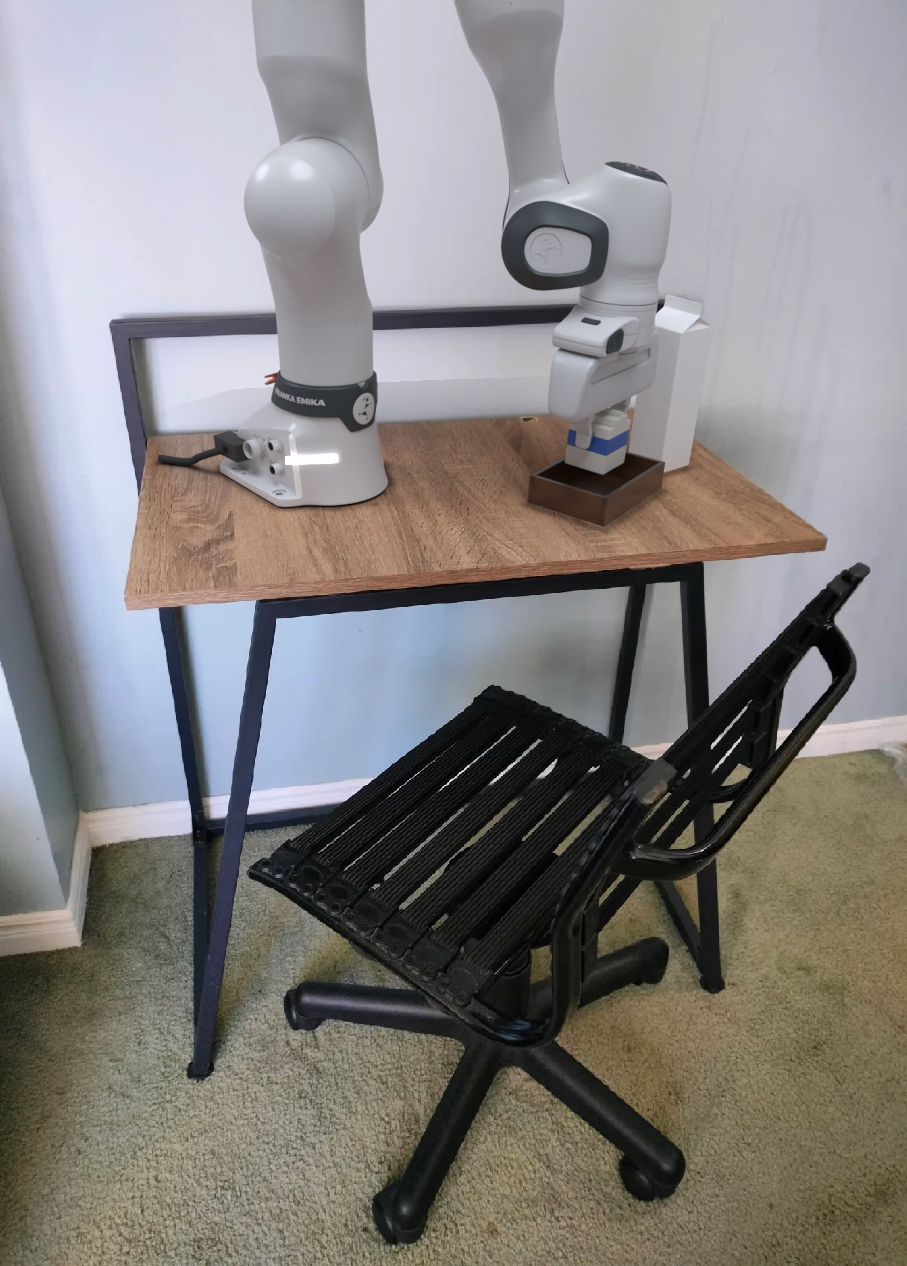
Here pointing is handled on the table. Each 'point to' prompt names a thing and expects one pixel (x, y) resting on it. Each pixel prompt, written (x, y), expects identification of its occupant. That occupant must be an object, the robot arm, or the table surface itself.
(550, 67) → the robot arm
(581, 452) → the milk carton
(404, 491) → the table surface
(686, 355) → the milk
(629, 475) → the box
